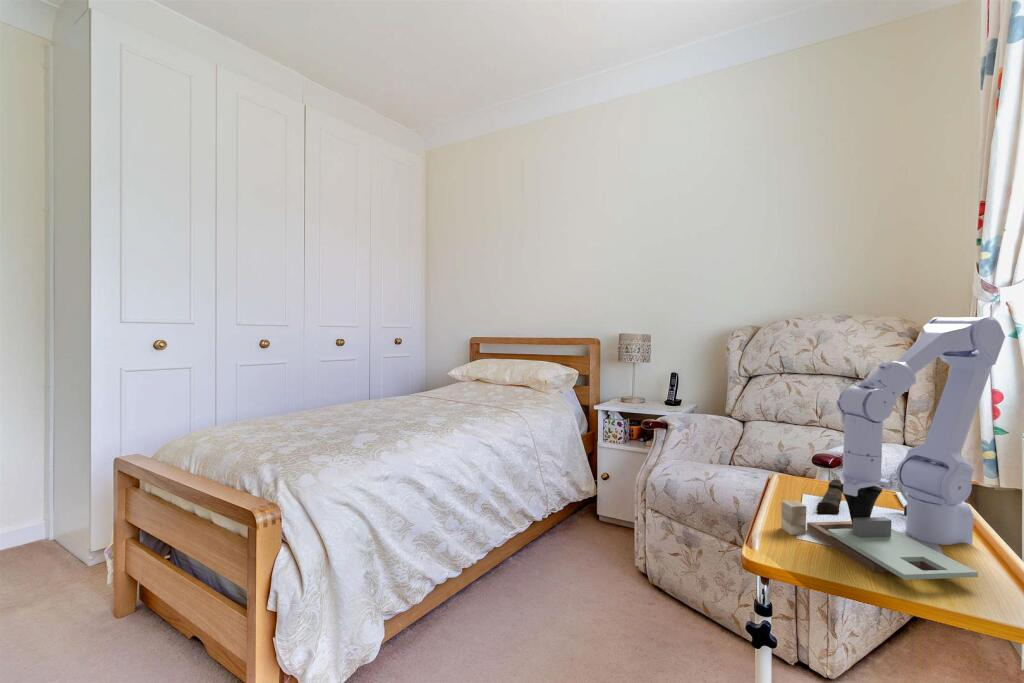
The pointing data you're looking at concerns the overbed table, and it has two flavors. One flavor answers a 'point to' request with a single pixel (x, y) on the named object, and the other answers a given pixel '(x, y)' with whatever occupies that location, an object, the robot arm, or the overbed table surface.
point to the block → (793, 517)
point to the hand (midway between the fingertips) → (859, 524)
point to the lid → (898, 550)
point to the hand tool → (831, 499)
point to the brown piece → (822, 532)
